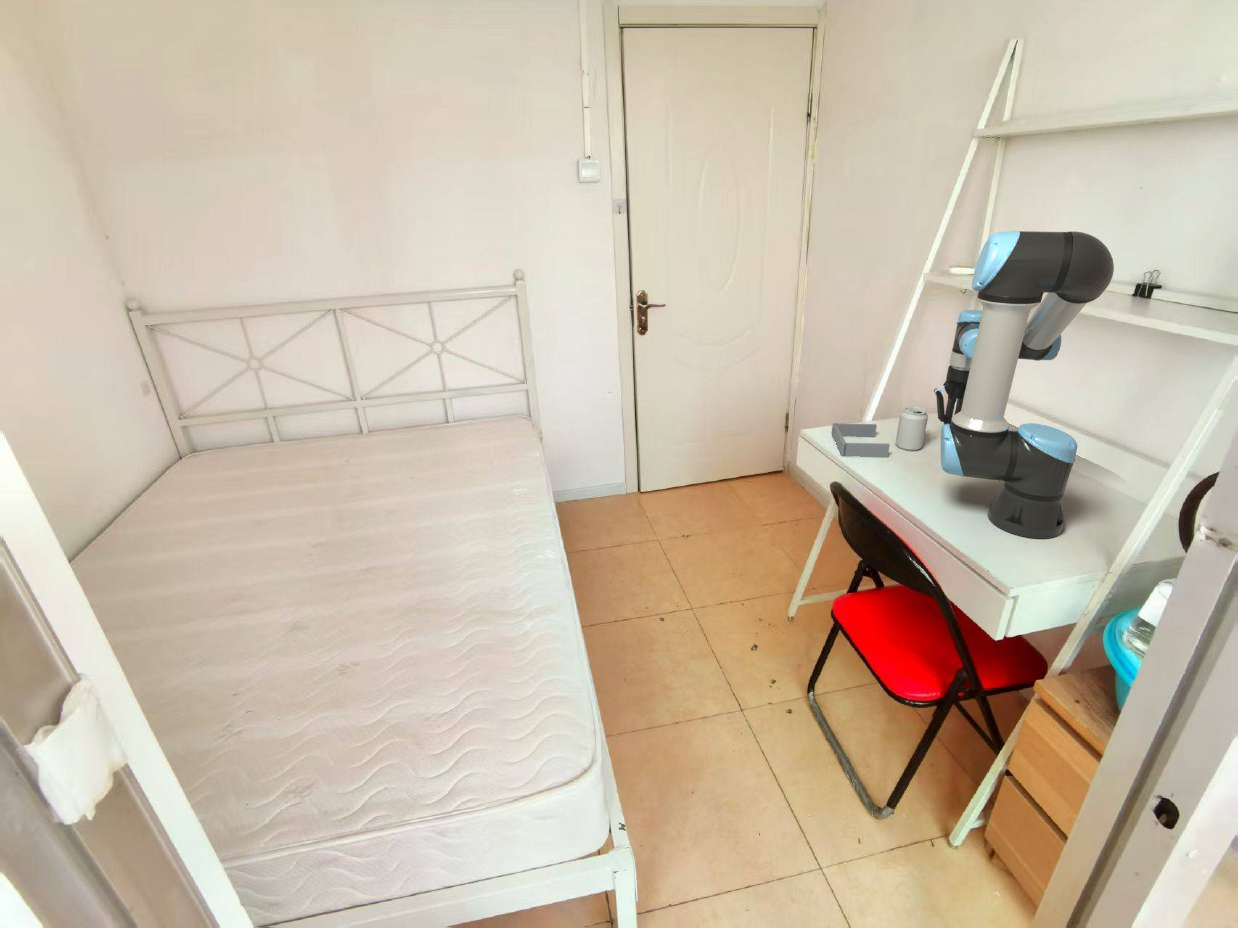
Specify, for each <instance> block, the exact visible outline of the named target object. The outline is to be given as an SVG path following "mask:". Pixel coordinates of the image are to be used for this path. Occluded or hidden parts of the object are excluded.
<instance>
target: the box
mask: <svg viewBox="0 0 1238 928" xmlns="http://www.w3.org/2000/svg"><path fill="white" fill-rule="evenodd" d="M877 427H878V426H877V424H876V423H832V426H831V434H832V436H831V438H832V437H833V438H832V440H833V439H834V440H833V442H834V441H835V442H836V444H835V446H836V445H837V446H836V448H837V451H838V450H839V451H838V453H839V452H840V453H839V454H840V457H841V456H860V457H859V458H886V457H889V452H890V451H889V450H890V445H891V444H890V443H883V442H882V443H881V442H880V443H878V442H876V443H874V442H872V443H871V442H846V440H845V437H843V436H856V438H876V431H877ZM835 442H834V443H835Z"/></svg>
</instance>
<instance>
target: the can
mask: <svg viewBox="0 0 1238 928" xmlns="http://www.w3.org/2000/svg"><path fill="white" fill-rule="evenodd" d="M928 420H929V415H928V414H927V410H926V409H925V408H923V407H920V406H905V407H904V408H903V411H901V412H900V414H899V421H898V426H897V429H896V430H897V431H896V437H895V442H894V443H895V445H896V446H897V447H898V448H899V450H904V451H909V452H916V451H918V450H920V449H922V448H923V445H924V442H925V441H924V439H925V434H926V429H927V424H928Z"/></svg>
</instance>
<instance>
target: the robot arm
mask: <svg viewBox="0 0 1238 928" xmlns="http://www.w3.org/2000/svg"><path fill="white" fill-rule="evenodd" d="M1114 266H1115V265H1114V259H1113V257H1112V254H1111V252H1110V250H1109V248H1108V247H1107V246H1106V245H1105V243H1103V242H1102V241H1101V240H1100V239H1099V238H1098V237H1096V236H1093V235H1091V234H1089V233H1086V232H1081V231H1033V230H1032V231H1031V230H1030V231H1026V230H1025V231H1021V230H1020V231H1019V230H1014V231H1012V230H1011V231H999V232H995V233H993V234H991V235H990V236H989V237H988V239H987V240H986V241H985V243H984V244H983V247H982V248H981V252H980V254H979V256H978V259H977V262H976V265H975V268H974V271H973V277H972V281H971V288H972V290H974V291H975V292H978V293H977V297H976V299H977V300H978V302H979V303H980V304H981V306H982V307H983V309H982V310H979V309H967V310H966V309H965V310H963V311H961V312H960V313H959V314H958V315H959V316H958V319H957V321H956V330H955V335H954V340H953V344H952V345H953V346H952V350H951V353H950V358H949V365H948V368H947V373H946V377H945V378H946V379H945V381H944V383H943V386H941V387H940V388H934V389H933V392H934V394H935V396H936V408H937V411H936V412H937V419H938V420H939V421H940V422H941V423H943V425H942V427H941V433H940V465H941V470H942V471H943V472H944V473H946V474H948V475H954V476H958V477H959V476H960V477H963V478H964V477H966V478H975V479H976V478H977V479H983V480H985V479H986V480H991V481H992V480H993V481H994V480H995V481H1002V482H1003V481H1004V483H1003V486H1002V487H1001V489H1000V491H999V492H998V493H997V495H996V496H995V497H994V499H993V501H992V502H990V504H989V507H988V510H987V518H988V520H989V521H990V522H991V523H992V524H993V525H994V526H996V527H997V528H999V529H1001V530H1003V531H1005V532H1006V533H1010V534H1012V535H1016V536H1020V537H1023V538H1029V539H1030V538H1031V539H1040V540H1041V539H1043V540H1044V539H1052V538H1056V537H1057V536H1058V537H1059V535H1060V534H1061V533H1062V531H1063V528H1064V524H1065V515H1064V507H1063V497H1064V493H1065V490H1066V487H1067V484H1068V482H1069V481H1068V480H1069V478H1070V476H1071V471H1072V468H1073V465H1074V463H1076V455H1077V450H1078V443H1077V441H1076V440H1075V438H1074V437H1073V436H1071V435H1070V434H1068V433H1067V432H1065V431H1063V430H1061V429H1058V428H1056V427H1052V426H1049V425H1046V424H1041V423H1034V422H1027V423H1023V424H1020V425H1019V426H1018V427H1017V430H1009V429H1010V423H1009V422H1008V421H1007V420H1006V418H1005V417H1004V416H1005V414H1006V409H1007V406H1008V401H1009V398H1010V397H1009V396H1010V394H1011V389H1012V385H1013V381H1014V376H1015V374H1016V368H1017V365H1018V361H1019V360H1030V361H1037V362H1039V361H1052V360H1054V359H1056V358H1057V356H1058V354H1059V352H1060V349H1061V347H1062V346H1061V345H1062V334H1063V332H1064V331H1065V329H1067V327H1068V326H1069V325H1070V324H1071V323H1072V321H1073V320H1074V319H1075V318H1076V316H1077V315H1078V314H1079V313H1080V312H1081V311H1082V310H1083V309H1084V307H1085V306H1086V305H1087V304H1088V303H1089V304H1090V303H1092V302H1094V301H1095V300H1097V299H1098V298H1099V297H1101V296H1102V294H1103V293H1104V292H1105V291H1106V290H1107V288H1108V287H1109V285H1111V284H1110V283H1112V282H1111V281H1112V279H1113V275H1114V271H1115V270H1114V269H1115V267H1114ZM1045 293H1047V294H1046V295H1045V296H1044V298H1043V295H1044V294H1045ZM1037 306H1038V307H1037ZM1035 307H1036V309H1035V311H1034V312H1033V314H1032V315H1031V317H1030V313H1031V310H1032V309H1034V308H1035ZM1029 317H1030V318H1029ZM945 393H946V394H947V402H946V409H945V401H944V400H945V398H944V396H945Z"/></svg>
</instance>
